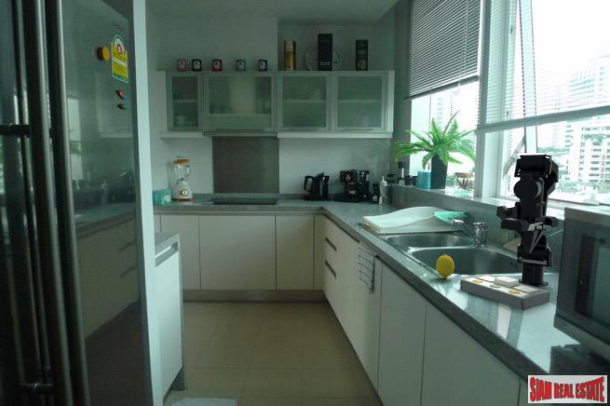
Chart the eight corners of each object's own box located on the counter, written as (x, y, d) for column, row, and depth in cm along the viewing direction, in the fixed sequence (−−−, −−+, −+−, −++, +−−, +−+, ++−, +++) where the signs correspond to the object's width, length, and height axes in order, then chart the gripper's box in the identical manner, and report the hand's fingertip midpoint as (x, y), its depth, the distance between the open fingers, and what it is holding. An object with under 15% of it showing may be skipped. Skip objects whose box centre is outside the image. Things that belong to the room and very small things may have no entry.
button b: (503, 284, 110) (503, 276, 110) (518, 288, 107) (518, 279, 106) (494, 286, 108) (494, 278, 108) (508, 291, 104) (509, 282, 104)
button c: (521, 293, 106) (522, 285, 105) (537, 298, 102) (538, 289, 102) (512, 296, 104) (512, 287, 103) (528, 301, 100) (528, 292, 100)
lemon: (449, 275, 126) (450, 252, 125) (456, 280, 121) (457, 256, 120) (433, 276, 126) (433, 252, 125) (439, 281, 121) (440, 256, 120)
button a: (486, 283, 115) (486, 275, 115) (499, 287, 111) (500, 279, 111) (477, 285, 113) (477, 277, 113) (490, 289, 109) (490, 281, 109)
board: (485, 283, 118) (486, 273, 118) (549, 302, 101) (550, 290, 101) (460, 289, 112) (460, 278, 112) (522, 310, 96) (523, 297, 95)
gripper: (522, 195, 117) (519, 244, 118) (483, 197, 108) (481, 250, 109) (561, 197, 107) (557, 251, 109) (521, 200, 98) (518, 258, 100)
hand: (528, 252), depth 107 cm, fingers closed
